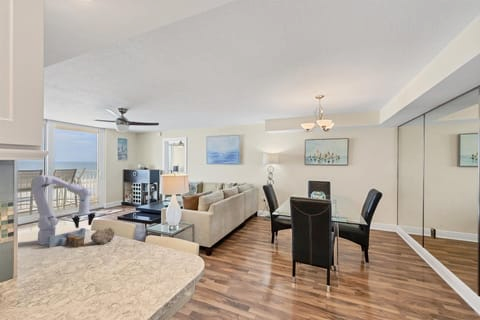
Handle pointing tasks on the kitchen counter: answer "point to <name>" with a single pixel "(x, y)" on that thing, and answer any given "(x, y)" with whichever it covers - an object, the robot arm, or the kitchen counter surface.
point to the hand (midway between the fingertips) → (83, 226)
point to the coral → (103, 235)
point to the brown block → (75, 240)
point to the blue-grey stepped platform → (64, 238)
